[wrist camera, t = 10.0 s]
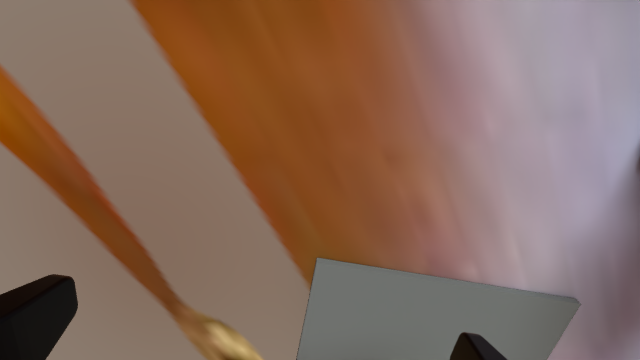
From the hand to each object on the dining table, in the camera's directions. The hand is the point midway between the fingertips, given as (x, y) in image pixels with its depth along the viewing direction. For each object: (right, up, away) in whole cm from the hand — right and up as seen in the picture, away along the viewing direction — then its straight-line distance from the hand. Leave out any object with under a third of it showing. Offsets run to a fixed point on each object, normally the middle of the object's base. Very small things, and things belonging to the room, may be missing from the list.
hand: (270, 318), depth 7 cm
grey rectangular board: (+8, -14, +19) cm, 25 cm away
